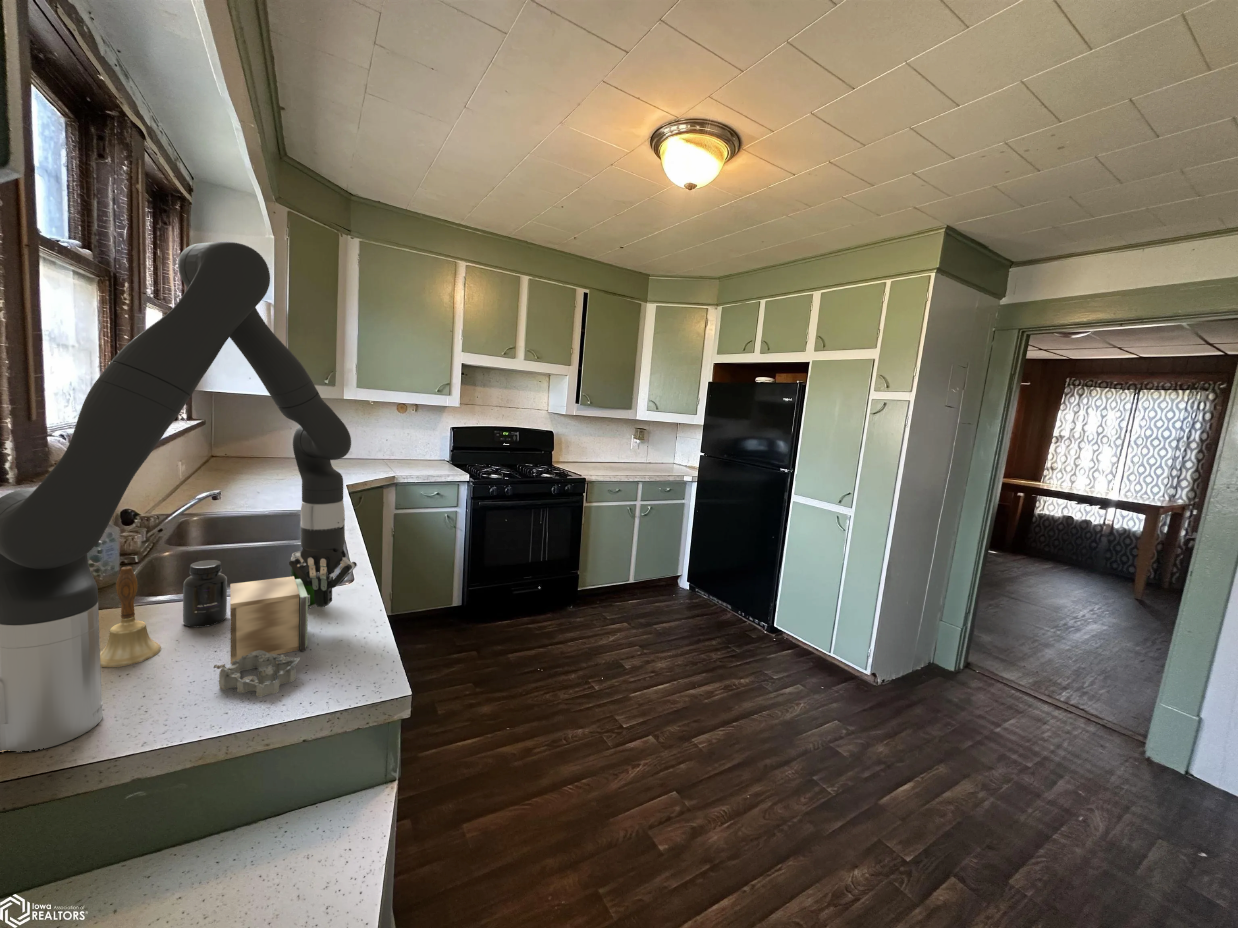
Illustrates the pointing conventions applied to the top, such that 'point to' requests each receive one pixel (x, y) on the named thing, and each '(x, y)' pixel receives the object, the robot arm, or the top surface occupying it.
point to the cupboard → (266, 617)
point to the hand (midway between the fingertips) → (323, 605)
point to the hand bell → (128, 629)
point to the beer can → (308, 588)
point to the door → (301, 593)
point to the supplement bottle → (204, 594)
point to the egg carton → (266, 673)
